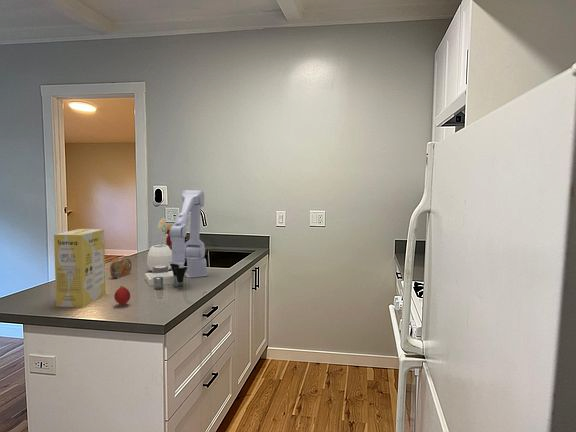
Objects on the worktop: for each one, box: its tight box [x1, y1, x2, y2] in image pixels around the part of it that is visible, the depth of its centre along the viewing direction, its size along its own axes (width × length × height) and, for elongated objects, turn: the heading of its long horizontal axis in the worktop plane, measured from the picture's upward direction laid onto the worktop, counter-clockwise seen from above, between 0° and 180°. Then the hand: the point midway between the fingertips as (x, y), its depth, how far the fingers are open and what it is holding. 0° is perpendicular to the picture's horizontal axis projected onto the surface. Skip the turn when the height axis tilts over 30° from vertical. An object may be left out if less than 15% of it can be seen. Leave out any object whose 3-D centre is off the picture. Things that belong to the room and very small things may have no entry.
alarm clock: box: [165, 219, 188, 249], centre depth 297 cm, size 15×9×20 cm, turn 130°
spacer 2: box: [173, 275, 184, 288], centre depth 192 cm, size 4×4×5 cm
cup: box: [146, 244, 173, 272], centre depth 223 cm, size 13×13×14 cm
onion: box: [113, 285, 131, 307], centre depth 162 cm, size 6×6×8 cm
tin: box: [109, 258, 132, 279], centre depth 210 cm, size 15×3×8 cm, turn 168°
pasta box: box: [53, 228, 107, 308], centre depth 167 cm, size 18×10×28 cm, turn 178°
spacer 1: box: [153, 277, 164, 291], centre depth 188 cm, size 4×4×5 cm
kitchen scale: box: [144, 265, 174, 287], centre depth 201 cm, size 14×15×6 cm
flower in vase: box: [157, 217, 172, 252], centre depth 264 cm, size 13×11×25 cm
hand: (178, 280), depth 192 cm, fingers open, 7 cm apart
